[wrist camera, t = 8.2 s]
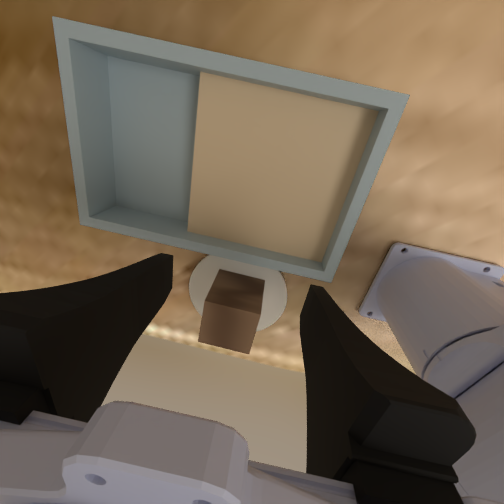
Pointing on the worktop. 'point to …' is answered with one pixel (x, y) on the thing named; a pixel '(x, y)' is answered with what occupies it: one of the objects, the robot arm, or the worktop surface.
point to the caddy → (219, 148)
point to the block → (232, 311)
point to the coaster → (273, 279)
